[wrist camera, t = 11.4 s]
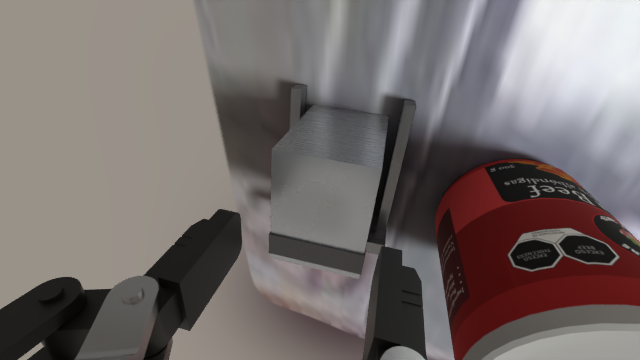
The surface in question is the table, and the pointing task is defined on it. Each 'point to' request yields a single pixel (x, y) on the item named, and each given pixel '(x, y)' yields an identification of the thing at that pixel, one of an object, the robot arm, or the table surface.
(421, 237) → the table surface
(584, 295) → the canned food
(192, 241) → the robot arm
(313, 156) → the block
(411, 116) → the rail channel
